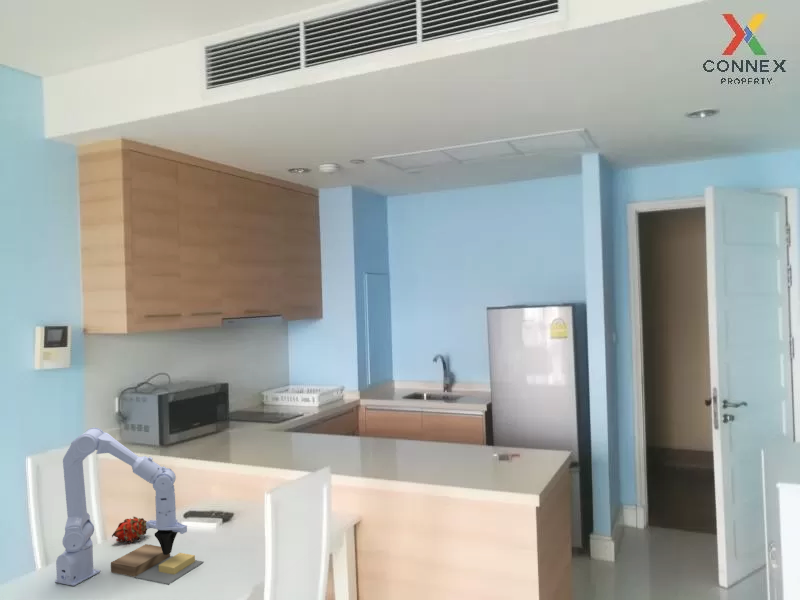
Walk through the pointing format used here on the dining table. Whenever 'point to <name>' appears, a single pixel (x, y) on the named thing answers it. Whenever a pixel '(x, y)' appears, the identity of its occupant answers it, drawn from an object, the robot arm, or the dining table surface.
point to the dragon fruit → (130, 530)
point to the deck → (138, 560)
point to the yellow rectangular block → (176, 563)
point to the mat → (162, 577)
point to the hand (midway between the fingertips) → (167, 553)
